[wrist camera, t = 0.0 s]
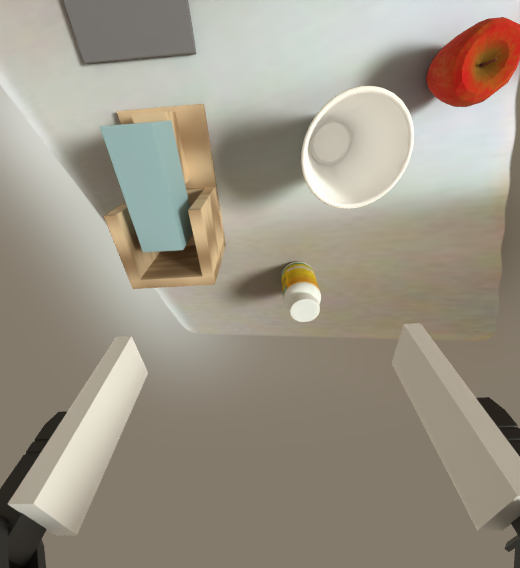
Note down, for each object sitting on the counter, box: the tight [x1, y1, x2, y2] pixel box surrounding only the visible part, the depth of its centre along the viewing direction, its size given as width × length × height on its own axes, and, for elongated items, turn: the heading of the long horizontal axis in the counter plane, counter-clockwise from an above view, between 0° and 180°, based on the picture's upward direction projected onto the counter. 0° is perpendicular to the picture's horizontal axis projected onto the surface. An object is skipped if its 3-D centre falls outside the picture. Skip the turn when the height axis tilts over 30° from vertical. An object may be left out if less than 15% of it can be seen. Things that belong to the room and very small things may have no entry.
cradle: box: [104, 104, 226, 289], centre depth 31 cm, size 18×10×11 cm, turn 4°
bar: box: [100, 120, 193, 252], centre depth 28 cm, size 12×4×6 cm, turn 4°
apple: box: [426, 17, 520, 107], centre depth 26 cm, size 6×6×8 cm
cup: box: [301, 86, 414, 209], centre depth 28 cm, size 10×10×11 cm
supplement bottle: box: [281, 262, 321, 322], centre depth 39 cm, size 5×5×10 cm
